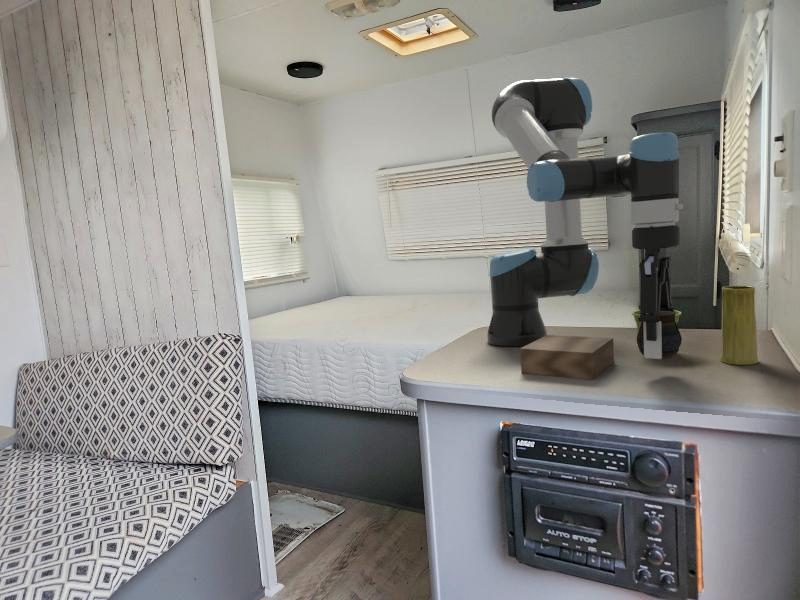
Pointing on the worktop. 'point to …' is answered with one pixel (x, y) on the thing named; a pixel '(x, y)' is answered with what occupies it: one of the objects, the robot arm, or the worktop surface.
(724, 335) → the vase
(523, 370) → the walnut block
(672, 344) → the mate gourd
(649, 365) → the worktop surface
